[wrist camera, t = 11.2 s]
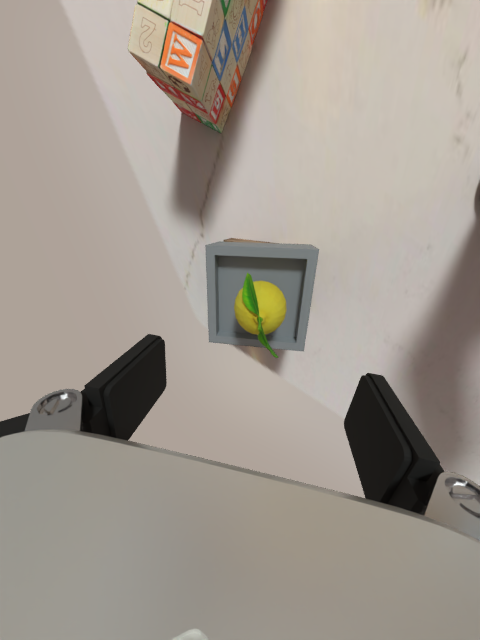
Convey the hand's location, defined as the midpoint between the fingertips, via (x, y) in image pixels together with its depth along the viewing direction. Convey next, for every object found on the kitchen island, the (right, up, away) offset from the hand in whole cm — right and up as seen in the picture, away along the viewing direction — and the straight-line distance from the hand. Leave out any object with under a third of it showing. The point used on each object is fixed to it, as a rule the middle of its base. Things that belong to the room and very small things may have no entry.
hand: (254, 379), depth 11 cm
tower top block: (+2, +7, +21) cm, 23 cm away
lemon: (+2, +5, +17) cm, 18 cm away
